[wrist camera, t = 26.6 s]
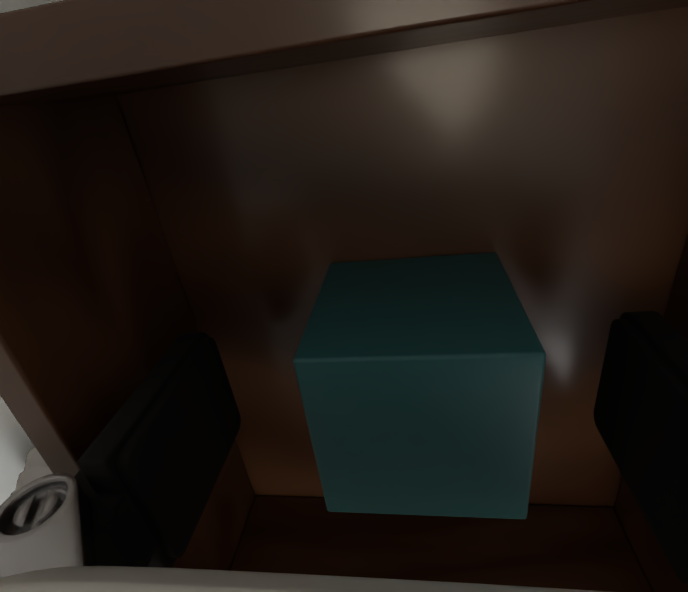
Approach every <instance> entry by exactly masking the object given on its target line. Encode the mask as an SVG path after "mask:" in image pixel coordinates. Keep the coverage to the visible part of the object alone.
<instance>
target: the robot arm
mask: <svg viewBox="0 0 688 592" xmlns="http://www.w3.org/2000/svg"><path fill="white" fill-rule="evenodd" d="M594 421H595V425H596V427H597V429H598V431H599V433H600V435H601V437H602V439H603V440H604V442H605V444H606V446H607V448H608V450H609V452H610V453H611V455H612V457H613V459H614V461H615V463H616V465H617V466H618V468H619V470H620V472H621V474H622V476H623V478H624V479H625V481H626V483H627V485H628V487H629V489H630V491H631V493H632V494H633V496H634V498H635V500H636V502H637V504H638V506H639V507H640V509H641V511H642V513H643V515H644V517H645V519H646V520H647V522H648V524H649V526H650V528H651V530H652V532H653V533H654V535H655V537H656V539H657V541H658V543H659V545H660V546H661V548H662V550H663V552H664V554H665V556H666V558H667V559H668V561H669V563H670V565H671V567H672V569H673V571H674V572H675V574H676V576H677V577H678V578H679V579H680V580H681V581H682V582H683V583H688V341H687V340H686V339H685V338H684V337H683V336H682V335H681V334H680V333H679V332H678V331H677V330H676V329H675V328H674V327H673V326H672V325H671V324H670V323H669V322H668V321H667V320H665V319H664V318H663V317H662V316H661V315H660V314H659V313H658V312H656V311H640V312H625V313H623V314H622V315H621V316H620V319H615V320H613V322H612V323H611V327H610V332H609V337H608V342H607V347H606V352H605V357H604V362H603V367H602V372H601V377H600V381H599V386H598V391H597V396H596V401H595V406H594ZM240 424H241V416H240V413H239V410H238V407H237V404H236V401H235V398H234V395H233V392H232V389H231V386H230V383H229V380H228V377H227V374H226V371H225V368H224V365H223V362H222V359H221V356H220V353H219V350H218V347H217V344H216V342H215V340H214V339H213V338H209V336H208V335H207V334H206V333H204V332H197V333H183V334H181V335H180V336H179V337H178V338H177V339H176V340H175V342H174V343H173V344H172V345H171V346H170V348H169V349H168V350H167V351H166V353H165V354H164V355H163V356H162V358H161V359H160V360H159V361H158V362H157V364H156V365H155V366H154V367H153V369H152V370H151V371H150V372H149V374H148V375H147V376H146V377H145V378H144V380H143V381H142V382H141V383H140V385H139V386H138V387H137V388H136V390H135V391H134V392H133V393H132V394H131V396H130V397H129V398H128V399H127V401H126V402H125V403H124V404H123V406H122V407H121V408H120V409H119V410H118V412H117V413H116V414H115V415H114V417H113V418H112V419H111V420H110V422H109V423H108V424H107V425H106V426H105V428H104V429H103V430H102V431H101V433H100V434H99V435H98V436H97V438H96V439H95V440H94V441H93V442H92V444H91V445H90V446H89V447H88V449H87V450H86V451H85V452H84V454H83V455H82V456H81V457H80V458H79V460H78V461H77V464H78V465H79V467H80V470H79V471H78V473H77V474H76V475H75V476H72V475H70V474H69V473H61V472H59V473H53V474H48V475H45V476H43V477H40V478H38V479H35V480H33V481H32V482H30V483H28V484H26V485H24V486H23V487H21V488H20V489H19V490H17V491H16V492H15V493H13V494H12V495H11V496H10V497H9V498H8V499H7V500H6V501H5V502H4V503H3V504H2V505H1V506H0V592H609V591H593V590H576V589H559V588H542V587H526V586H509V585H492V584H475V583H457V582H439V581H421V580H403V579H385V578H366V577H347V576H329V575H310V574H290V573H270V572H249V571H229V570H208V569H188V568H173V566H174V563H175V561H176V559H177V558H180V557H182V556H183V554H184V553H185V551H186V549H187V547H188V545H189V543H190V540H191V538H192V536H193V534H194V531H195V529H196V527H197V524H198V522H199V520H200V518H201V515H202V513H203V511H204V509H205V506H206V504H207V502H208V499H209V497H210V495H211V493H212V490H213V488H214V486H215V484H216V481H217V479H218V477H219V474H220V472H221V470H222V468H223V465H224V463H225V461H226V459H227V456H228V454H229V452H230V450H231V447H232V445H233V443H234V440H235V438H236V436H237V434H238V431H239V429H240Z"/></svg>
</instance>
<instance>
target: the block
mask: <svg viewBox="0 0 688 592" xmlns="http://www.w3.org/2000/svg"><path fill="white" fill-rule="evenodd" d="M545 362H546V353H545V351H544V349H543V346H542V344H541V342H540V340H539V338H538V336H537V334H536V332H535V330H534V328H533V326H532V324H531V322H530V320H529V318H528V316H527V314H526V312H525V310H524V308H523V306H522V303H521V301H520V299H519V297H518V295H517V293H516V291H515V289H514V287H513V285H512V283H511V281H510V279H509V277H508V275H507V273H506V271H505V269H504V267H503V265H502V263H501V260H500V258H499V256H498V254H497V253H495V252H491V253H476V254H461V255H446V256H431V257H416V258H401V259H386V260H371V261H356V262H341V263H331V264H330V265H329V268H328V270H327V273H326V275H325V278H324V281H323V283H322V286H321V288H320V291H319V294H318V296H317V299H316V301H315V304H314V307H313V309H312V312H311V314H310V317H309V320H308V322H307V325H306V327H305V330H304V333H303V335H302V338H301V340H300V343H299V346H298V348H297V351H296V353H295V356H294V359H293V364H294V368H295V373H296V377H297V381H298V386H299V390H300V394H301V399H302V403H303V408H304V412H305V416H306V421H307V425H308V429H309V434H310V438H311V442H312V447H313V451H314V455H315V460H316V464H317V468H318V473H319V477H320V481H321V486H322V490H323V494H324V499H325V503H326V507H327V510H328V511H330V512H350V513H375V514H401V515H426V516H451V517H476V518H502V519H526V518H527V513H528V504H529V496H530V488H531V479H532V471H533V463H534V454H535V446H536V438H537V429H538V421H539V412H540V404H541V396H542V387H543V379H544V371H545Z"/></svg>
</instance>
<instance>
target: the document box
mask: <svg viewBox="0 0 688 592" xmlns="http://www.w3.org/2000/svg"><path fill="white" fill-rule="evenodd" d="M491 252H495V253H497V254H498V256H499V258H500V260H501V263H502V265H503V267H504V269H505V271H506V273H507V275H508V277H509V279H510V281H511V283H512V285H513V287H514V289H515V291H516V293H517V295H518V297H519V299H520V301H521V303H522V306H523V308H524V310H525V312H526V314H527V316H528V318H529V320H530V322H531V324H532V326H533V328H534V330H535V332H536V334H537V336H538V338H539V340H540V342H541V344H542V346H543V349H544V351H545V353H546V362H545V371H544V379H543V387H542V396H541V404H540V412H539V421H538V429H537V438H536V446H535V454H534V463H533V471H532V479H531V488H530V496H529V504H528V513H527V518H526V519H502V518H476V517H451V516H426V515H401V514H375V513H350V512H330V511H328V510H327V507H326V503H325V499H324V494H323V490H322V486H321V481H320V477H319V473H318V468H317V464H316V460H315V455H314V451H313V447H312V442H311V438H310V434H309V429H308V425H307V421H306V416H305V412H304V408H303V403H302V399H301V394H300V390H299V386H298V381H297V377H296V373H295V368H294V364H293V359H294V356H295V353H296V351H297V348H298V346H299V343H300V340H301V338H302V335H303V333H304V330H305V327H306V325H307V322H308V320H309V317H310V314H311V312H312V309H313V307H314V304H315V301H316V299H317V296H318V294H319V291H320V288H321V286H322V283H323V281H324V278H325V275H326V273H327V270H328V268H329V265H330V264H331V263H341V262H356V261H371V260H386V259H401V258H416V257H431V256H446V255H461V254H476V253H491ZM640 311H656V312H658V313H659V314H660V315H661V316H662V317H663V318H664V319H665V320H667V321H668V322H669V323H670V324H671V325H672V326H673V327H674V328H675V329H676V330H677V331H678V332H679V333H680V334H681V335H682V336H683V337H684V338H685V339H686V340H687V341H688V0H63V1H58V2H53V3H48V4H43V5H38V6H33V7H29V8H24V9H19V10H14V11H9V12H4V13H0V395H1V397H2V398H3V400H4V401H5V403H6V404H7V406H8V407H9V409H10V410H11V412H12V413H13V415H14V416H15V418H16V419H17V421H18V422H19V424H20V425H21V427H22V428H23V430H24V431H25V433H26V434H27V436H28V437H29V439H30V440H31V442H32V443H33V445H34V446H35V448H36V449H37V451H38V452H39V454H40V455H41V457H42V458H43V460H44V461H45V463H46V464H47V466H48V467H49V469H50V470H51V472H52V473H59V472H61V473H69V474H70V475H72V476H75V475H76V474H77V473H78V471H79V470H80V467H79V465H78V464H77V461H78V460H79V458H80V457H81V456H82V455H83V454H84V452H85V451H86V450H87V449H88V447H89V446H90V445H91V444H92V442H93V441H94V440H95V439H96V438H97V436H98V435H99V434H100V433H101V431H102V430H103V429H104V428H105V426H106V425H107V424H108V423H109V422H110V420H111V419H112V418H113V417H114V415H115V414H116V413H117V412H118V410H119V409H120V408H121V407H122V406H123V404H124V403H125V402H126V401H127V399H128V398H129V397H130V396H131V394H132V393H133V392H134V391H135V390H136V388H137V387H138V386H139V385H140V383H141V382H142V381H143V380H144V378H145V377H146V376H147V375H148V374H149V372H150V371H151V370H152V369H153V367H154V366H155V365H156V364H157V362H158V361H159V360H160V359H161V358H162V356H163V355H164V354H165V353H166V351H167V350H168V349H169V348H170V346H171V345H172V344H173V343H174V342H175V340H176V339H177V338H178V337H179V336H180V335H181V334H183V333H197V332H204V333H206V334H207V335H208V336H209V338H213V339H214V340H215V342H216V344H217V347H218V350H219V353H220V356H221V359H222V362H223V365H224V368H225V371H226V374H227V377H228V380H229V383H230V386H231V389H232V392H233V395H234V398H235V401H236V404H237V407H238V410H239V413H240V416H241V424H240V429H239V431H238V434H237V436H236V438H235V440H234V443H233V445H232V447H231V450H230V452H229V454H228V456H227V459H226V461H225V463H224V465H223V468H222V470H221V472H220V474H219V477H218V479H217V481H216V484H215V486H214V488H213V490H212V493H211V495H210V497H209V499H208V502H207V504H206V506H205V509H204V511H203V513H202V515H201V518H200V520H199V522H198V524H197V527H196V529H195V531H194V534H193V536H192V538H191V540H190V543H189V545H188V547H187V549H186V551H185V553H184V554H183V556H182V557H180V558H177V559H176V561H175V563H174V566H173V568H188V569H208V570H229V571H249V572H270V573H290V574H310V575H329V576H347V577H366V578H385V579H403V580H421V581H439V582H457V583H475V584H492V585H509V586H526V587H542V588H559V589H576V590H593V591H609V592H688V583H683V582H682V581H681V580H680V579H679V578H678V577H677V576H676V574H675V572H674V571H673V569H672V567H671V565H670V563H669V561H668V559H667V558H666V556H665V554H664V552H663V550H662V548H661V546H660V545H659V543H658V541H657V539H656V537H655V535H654V533H653V532H652V530H651V528H650V526H649V524H648V522H647V520H646V519H645V517H644V515H643V513H642V511H641V509H640V507H639V506H638V504H637V502H636V500H635V498H634V496H633V494H632V493H631V491H630V489H629V487H628V485H627V483H626V481H625V479H624V478H623V476H622V474H621V472H620V470H619V468H618V466H617V465H616V463H615V461H614V459H613V457H612V455H611V453H610V452H609V450H608V448H607V446H606V444H605V442H604V440H603V439H602V437H601V435H600V433H599V431H598V429H597V427H596V425H595V421H594V406H595V401H596V396H597V391H598V386H599V381H600V377H601V372H602V367H603V362H604V357H605V352H606V347H607V342H608V337H609V332H610V327H611V323H612V322H613V320H615V319H620V316H621V315H622V314H623V313H625V312H640Z"/></svg>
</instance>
